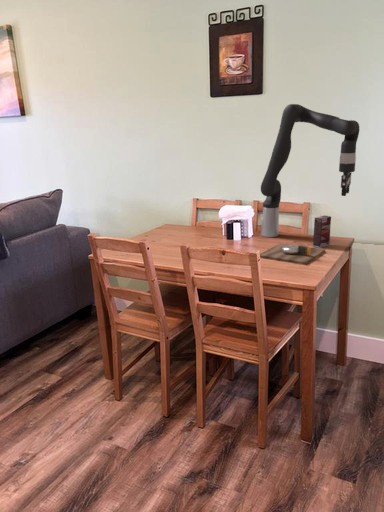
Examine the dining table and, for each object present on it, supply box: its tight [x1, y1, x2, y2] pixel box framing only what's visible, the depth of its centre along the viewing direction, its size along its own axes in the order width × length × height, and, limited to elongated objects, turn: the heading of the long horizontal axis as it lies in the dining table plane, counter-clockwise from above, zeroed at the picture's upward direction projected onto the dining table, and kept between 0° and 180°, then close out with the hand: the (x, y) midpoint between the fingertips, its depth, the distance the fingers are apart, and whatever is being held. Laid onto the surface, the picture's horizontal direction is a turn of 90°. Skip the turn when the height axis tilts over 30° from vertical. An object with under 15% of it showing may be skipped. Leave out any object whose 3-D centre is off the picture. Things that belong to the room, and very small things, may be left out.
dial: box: [282, 244, 312, 255], centre depth 212 cm, size 16×10×4 cm, turn 38°
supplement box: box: [312, 214, 332, 249], centre depth 225 cm, size 9×5×16 cm, turn 128°
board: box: [259, 243, 326, 266], centre depth 215 cm, size 25×25×2 cm
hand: (345, 194), depth 217 cm, fingers open, 8 cm apart
